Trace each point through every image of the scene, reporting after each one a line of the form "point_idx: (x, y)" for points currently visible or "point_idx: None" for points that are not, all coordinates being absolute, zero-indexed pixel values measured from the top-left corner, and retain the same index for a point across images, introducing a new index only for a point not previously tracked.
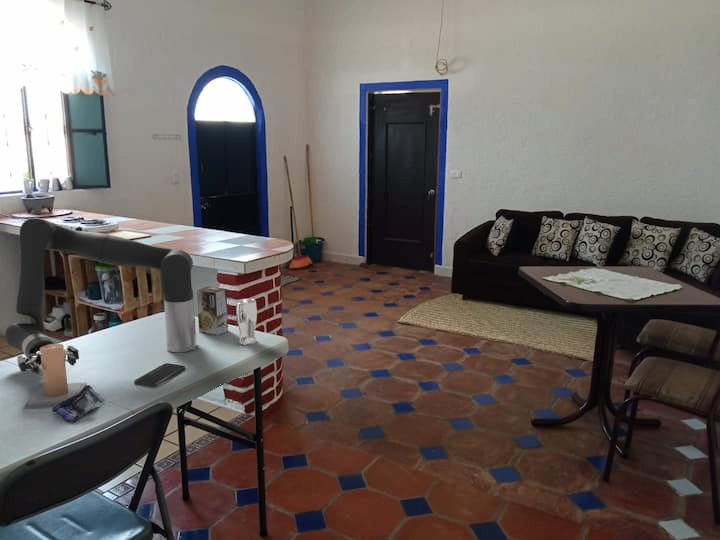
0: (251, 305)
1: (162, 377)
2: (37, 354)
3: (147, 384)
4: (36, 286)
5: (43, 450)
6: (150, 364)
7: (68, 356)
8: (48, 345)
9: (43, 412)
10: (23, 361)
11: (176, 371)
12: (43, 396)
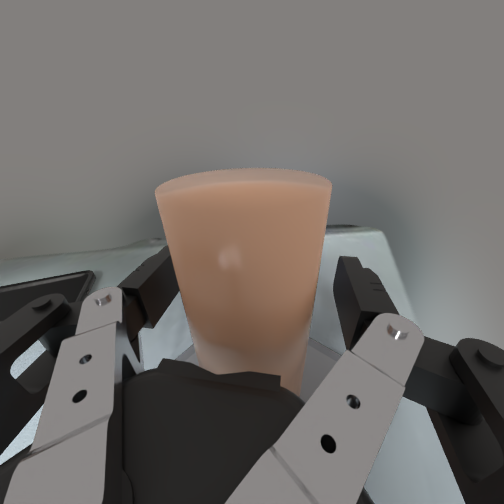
0: None
1: (34, 288)
2: (333, 421)
3: (90, 281)
4: None
5: (338, 233)
6: None
7: (156, 275)
8: (241, 199)
9: (322, 321)
10: (481, 353)
11: None
12: (307, 396)
